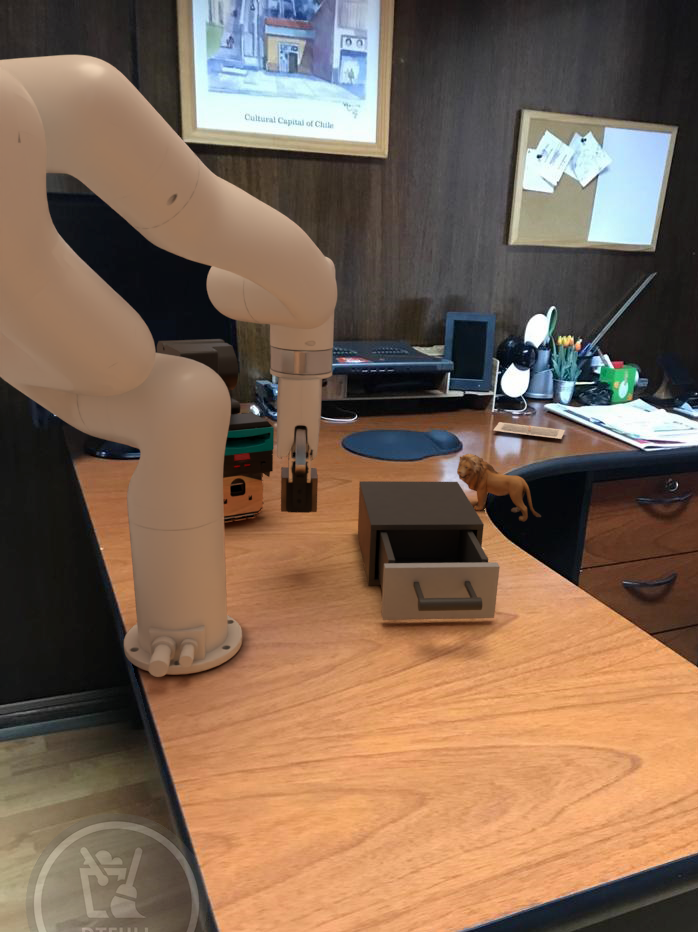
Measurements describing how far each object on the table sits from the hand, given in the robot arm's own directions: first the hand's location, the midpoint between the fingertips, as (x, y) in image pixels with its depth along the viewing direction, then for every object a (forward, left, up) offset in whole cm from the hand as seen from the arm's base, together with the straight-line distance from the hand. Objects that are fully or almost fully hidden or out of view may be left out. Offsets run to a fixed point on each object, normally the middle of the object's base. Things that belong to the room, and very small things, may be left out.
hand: (298, 503), depth 99 cm
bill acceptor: (+26, +13, -10) cm, 30 cm away
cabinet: (+5, -16, -10) cm, 20 cm away
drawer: (-10, -16, -9) cm, 21 cm away
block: (0, 0, 0) cm, 0 cm away
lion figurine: (+23, -32, -10) cm, 41 cm away
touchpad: (+70, -52, -10) cm, 88 cm away
